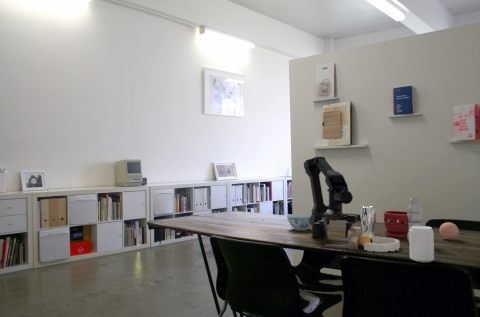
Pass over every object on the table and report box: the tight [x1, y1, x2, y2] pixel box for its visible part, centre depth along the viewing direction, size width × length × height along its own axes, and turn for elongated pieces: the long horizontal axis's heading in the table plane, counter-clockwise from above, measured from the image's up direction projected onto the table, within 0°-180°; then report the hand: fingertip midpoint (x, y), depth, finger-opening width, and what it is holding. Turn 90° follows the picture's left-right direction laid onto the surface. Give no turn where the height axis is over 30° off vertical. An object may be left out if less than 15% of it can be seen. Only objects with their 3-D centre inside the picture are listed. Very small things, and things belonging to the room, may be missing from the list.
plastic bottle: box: [406, 197, 423, 242], centre depth 175 cm, size 6×7×20 cm
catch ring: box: [363, 235, 401, 253], centre depth 167 cm, size 12×19×3 cm, turn 151°
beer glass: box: [360, 205, 377, 240], centre depth 190 cm, size 7×7×15 cm
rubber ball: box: [359, 234, 372, 247], centre depth 171 cm, size 5×5×5 cm
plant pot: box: [383, 210, 409, 239], centre depth 194 cm, size 13×13×12 cm
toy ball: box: [439, 222, 460, 241], centre depth 184 cm, size 8×8×8 cm
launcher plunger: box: [347, 226, 362, 247], centre depth 173 cm, size 3×12×7 cm, turn 151°
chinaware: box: [286, 213, 312, 231], centre depth 220 cm, size 15×15×8 cm
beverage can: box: [408, 225, 435, 263], centre depth 145 cm, size 8×8×12 cm
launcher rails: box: [324, 238, 359, 250], centre depth 175 cm, size 14×16×1 cm
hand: (336, 237), depth 177 cm, fingers open, 9 cm apart
